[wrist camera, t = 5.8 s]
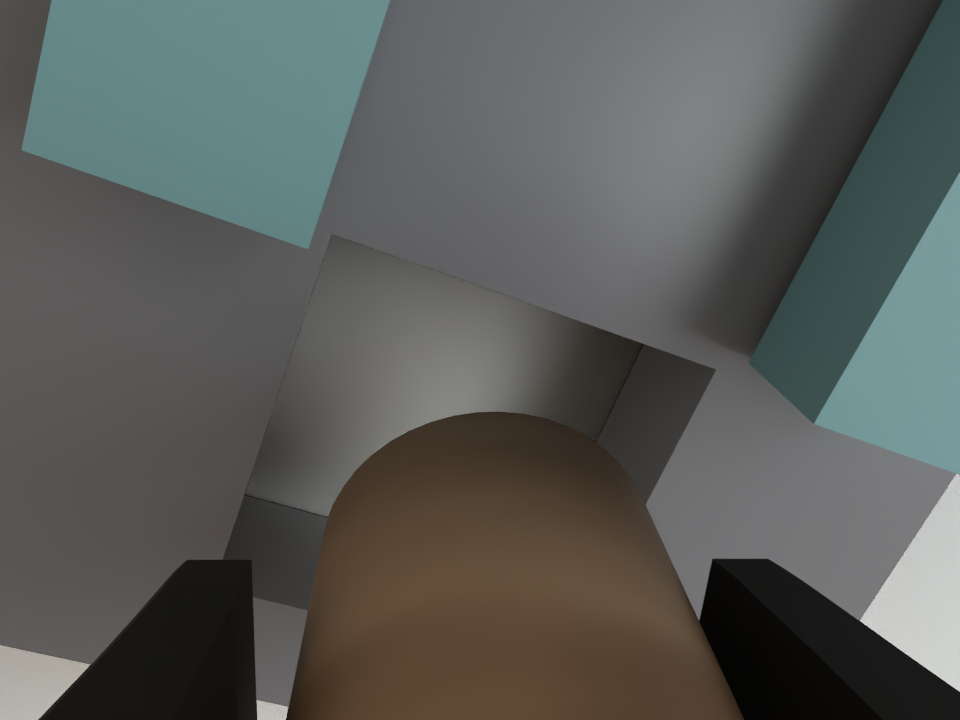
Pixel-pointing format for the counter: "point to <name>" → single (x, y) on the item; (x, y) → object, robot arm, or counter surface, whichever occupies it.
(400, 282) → the counter surface
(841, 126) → the housing
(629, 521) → the pin
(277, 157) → the keeper plate
